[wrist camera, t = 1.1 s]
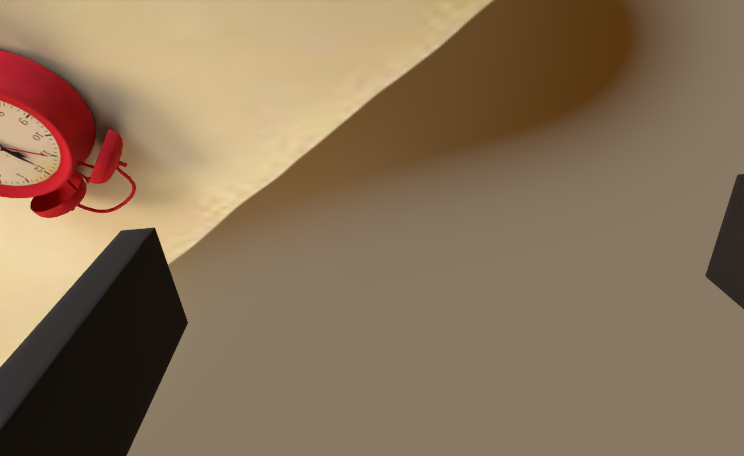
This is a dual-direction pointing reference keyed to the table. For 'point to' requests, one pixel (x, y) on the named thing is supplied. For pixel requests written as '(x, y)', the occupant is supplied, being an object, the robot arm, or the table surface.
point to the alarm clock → (49, 140)
